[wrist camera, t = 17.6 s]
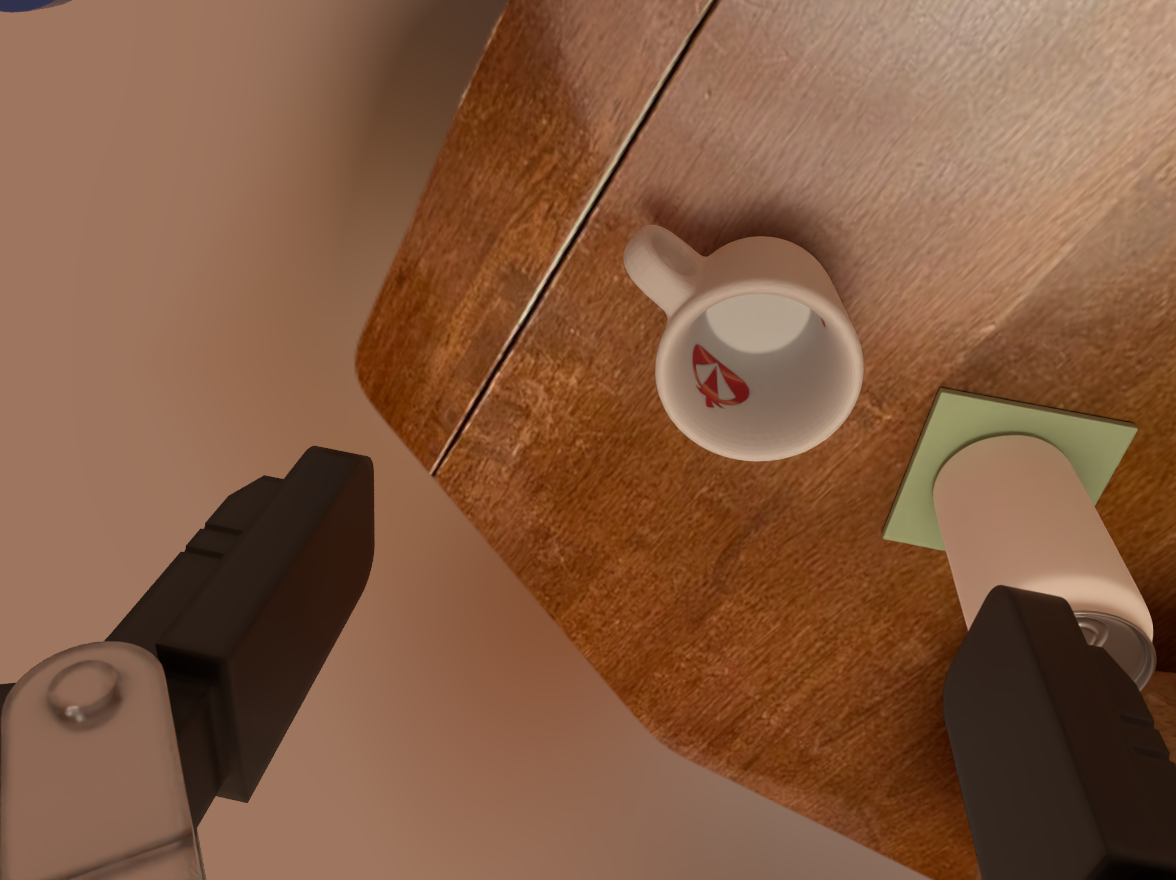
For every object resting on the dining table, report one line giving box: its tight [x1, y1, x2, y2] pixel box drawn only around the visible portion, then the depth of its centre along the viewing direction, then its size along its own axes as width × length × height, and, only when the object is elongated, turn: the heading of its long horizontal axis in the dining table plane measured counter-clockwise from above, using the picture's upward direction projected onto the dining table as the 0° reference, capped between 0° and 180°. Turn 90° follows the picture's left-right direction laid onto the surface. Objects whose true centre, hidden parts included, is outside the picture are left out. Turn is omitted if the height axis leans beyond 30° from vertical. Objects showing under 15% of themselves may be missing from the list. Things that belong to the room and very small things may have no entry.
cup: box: [623, 225, 864, 461], centre depth 37 cm, size 11×8×8 cm
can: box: [933, 435, 1156, 693], centre depth 38 cm, size 6×6×12 cm
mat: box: [882, 388, 1138, 551], centre depth 43 cm, size 9×9×1 cm
